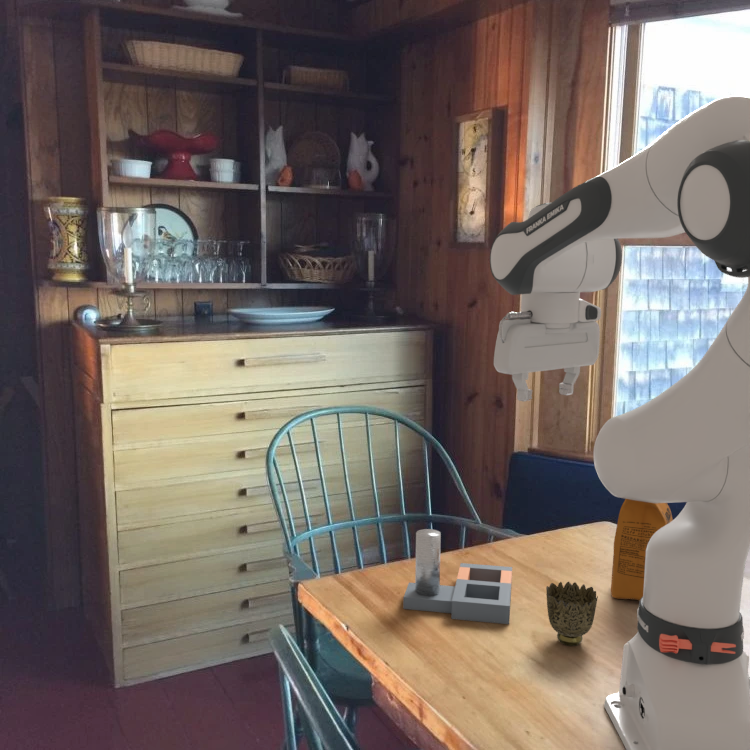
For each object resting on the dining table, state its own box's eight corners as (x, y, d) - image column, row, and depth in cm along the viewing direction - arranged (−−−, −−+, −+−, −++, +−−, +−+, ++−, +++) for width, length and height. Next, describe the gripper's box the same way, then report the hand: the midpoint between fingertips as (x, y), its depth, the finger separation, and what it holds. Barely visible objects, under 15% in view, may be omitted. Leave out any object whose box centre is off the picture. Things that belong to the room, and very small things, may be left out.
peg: (438, 597, 129) (439, 538, 128) (413, 595, 130) (414, 536, 128) (440, 587, 133) (442, 530, 131) (417, 585, 134) (417, 528, 132)
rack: (509, 624, 124) (509, 606, 124) (401, 614, 127) (401, 596, 127) (511, 583, 140) (512, 567, 139) (415, 575, 143) (415, 559, 143)
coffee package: (679, 586, 139) (688, 463, 136) (664, 612, 129) (672, 480, 126) (622, 574, 144) (628, 455, 141) (602, 598, 134) (609, 471, 131)
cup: (596, 656, 114) (599, 604, 113) (544, 651, 116) (546, 599, 115) (593, 633, 122) (596, 583, 120) (544, 628, 123) (546, 578, 122)
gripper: (516, 314, 115) (512, 408, 117) (608, 308, 127) (603, 394, 129) (486, 311, 120) (483, 401, 122) (577, 306, 132) (573, 388, 134)
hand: (545, 397), depth 126 cm, fingers open, 8 cm apart
